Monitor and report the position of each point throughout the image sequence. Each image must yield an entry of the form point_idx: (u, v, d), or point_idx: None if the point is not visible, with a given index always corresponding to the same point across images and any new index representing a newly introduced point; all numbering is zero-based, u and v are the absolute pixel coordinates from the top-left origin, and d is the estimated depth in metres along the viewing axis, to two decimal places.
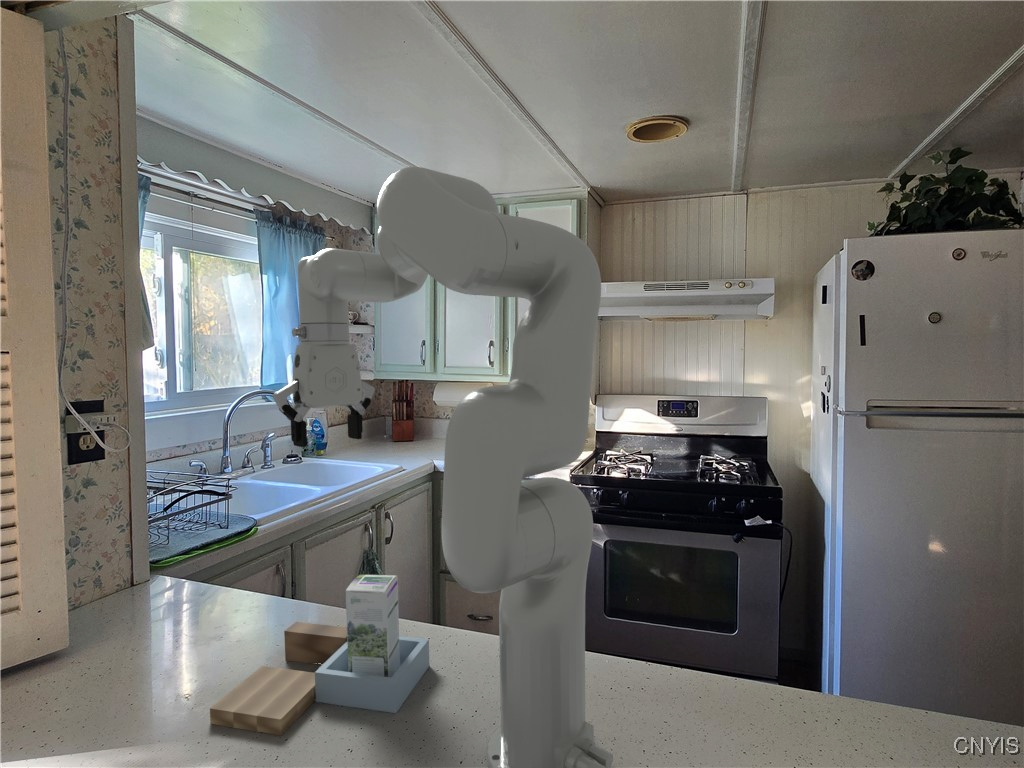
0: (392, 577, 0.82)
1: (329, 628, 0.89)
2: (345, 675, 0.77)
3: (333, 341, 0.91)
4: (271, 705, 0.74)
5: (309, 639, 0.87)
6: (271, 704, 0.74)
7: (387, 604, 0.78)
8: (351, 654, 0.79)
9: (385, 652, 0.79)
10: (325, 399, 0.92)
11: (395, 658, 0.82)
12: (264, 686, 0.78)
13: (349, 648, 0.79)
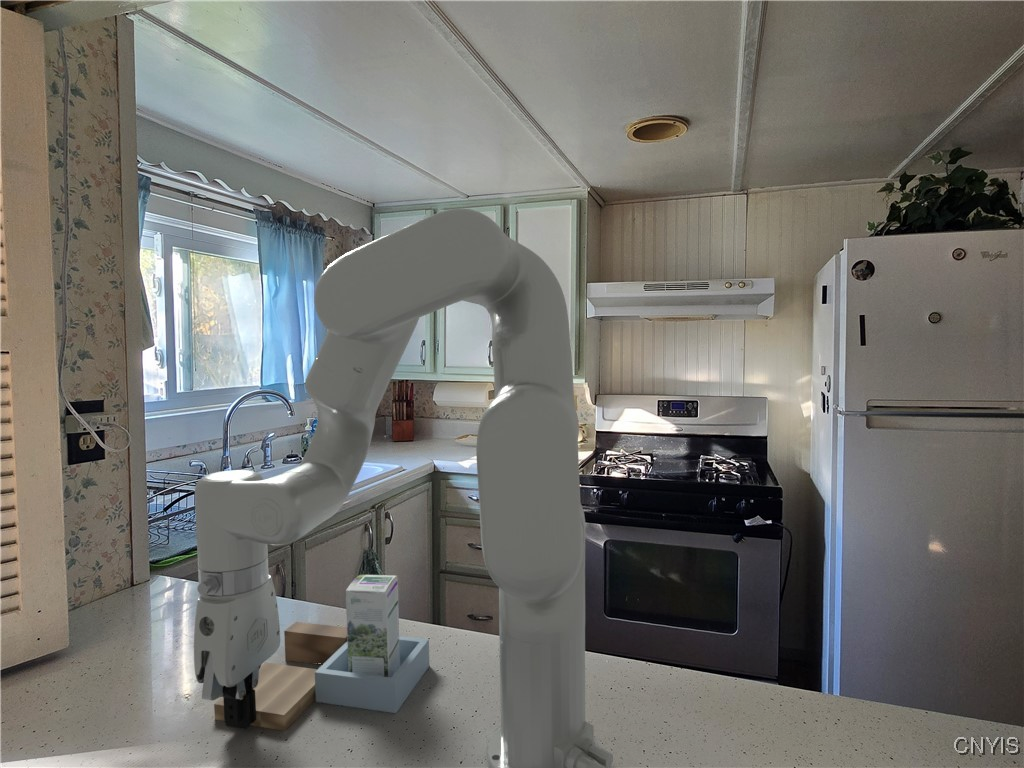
0: (392, 577, 0.82)
1: (329, 628, 0.89)
2: (345, 675, 0.77)
3: (258, 588, 0.69)
4: (275, 701, 0.75)
5: (309, 639, 0.87)
6: (275, 700, 0.75)
7: (387, 604, 0.78)
8: (351, 654, 0.79)
9: (385, 652, 0.79)
10: (248, 666, 0.69)
11: (395, 658, 0.82)
12: (267, 683, 0.79)
13: (349, 648, 0.79)
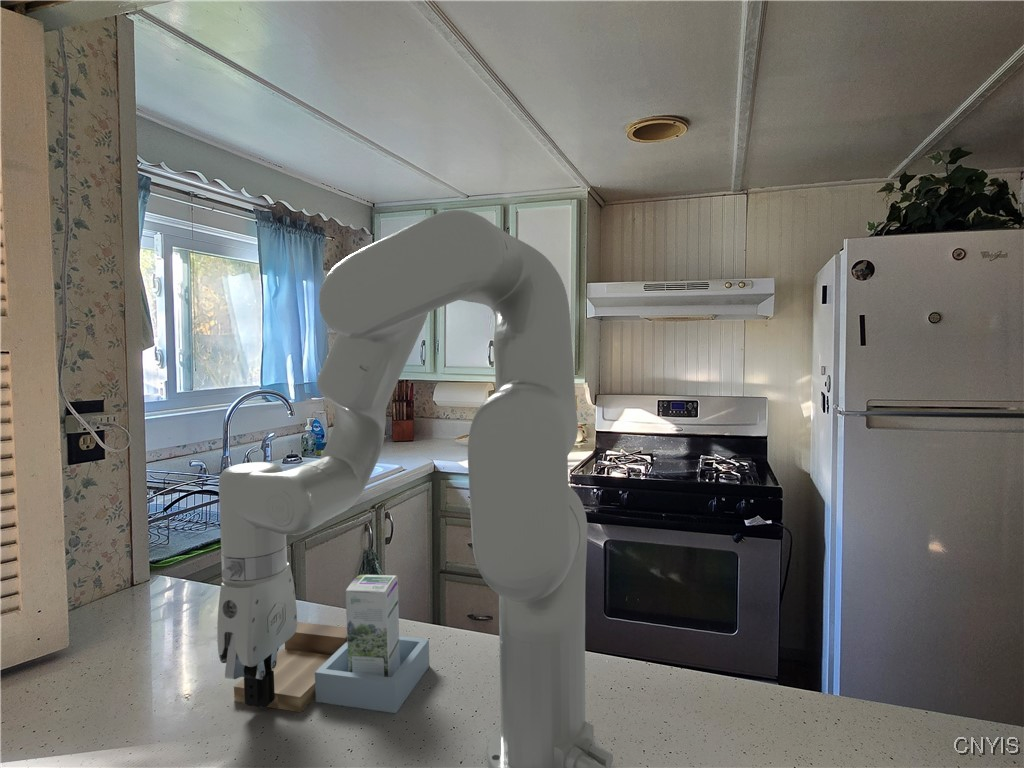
0: (392, 577, 0.82)
1: (329, 628, 0.89)
2: (345, 675, 0.77)
3: (277, 574, 0.73)
4: (291, 684, 0.78)
5: (309, 639, 0.87)
6: (291, 683, 0.79)
7: (387, 604, 0.78)
8: (351, 654, 0.79)
9: (385, 652, 0.79)
10: (267, 648, 0.72)
11: (395, 658, 0.82)
12: (284, 667, 0.82)
13: (349, 648, 0.79)
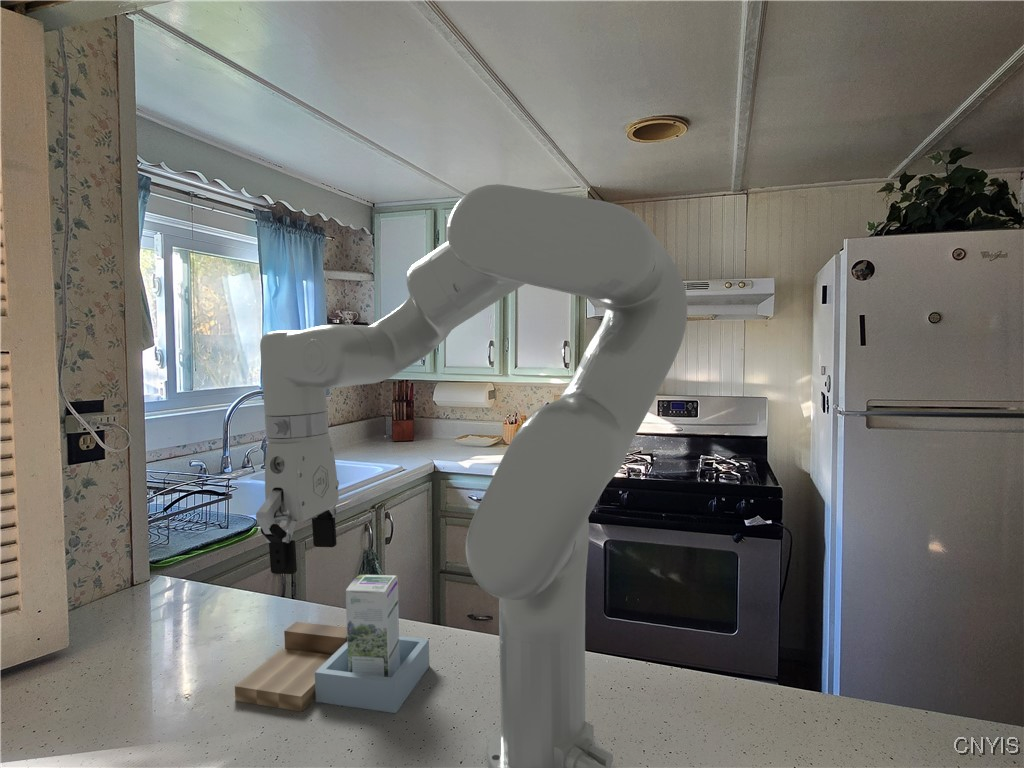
0: (392, 577, 0.82)
1: (329, 628, 0.89)
2: (345, 675, 0.77)
3: (321, 435, 0.74)
4: (292, 684, 0.78)
5: (309, 639, 0.87)
6: (292, 683, 0.79)
7: (387, 604, 0.78)
8: (351, 654, 0.79)
9: (385, 652, 0.79)
10: (314, 507, 0.74)
11: (395, 658, 0.82)
12: (284, 667, 0.83)
13: (349, 648, 0.79)
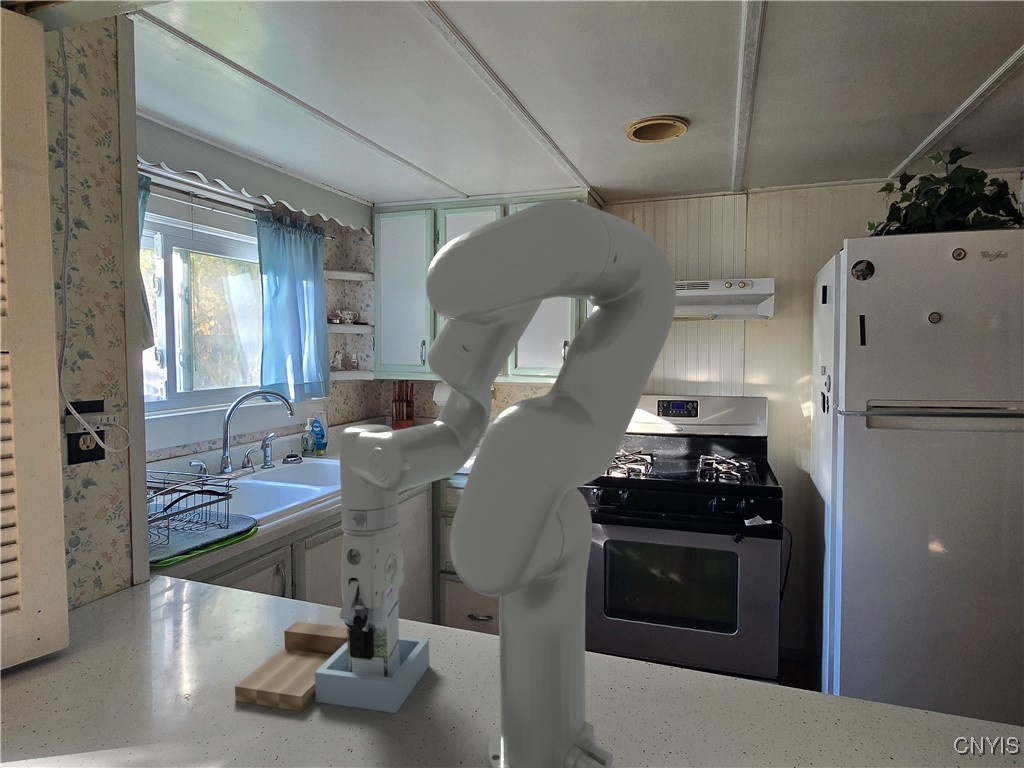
0: None
1: (329, 628, 0.89)
2: (345, 675, 0.77)
3: (393, 526, 0.79)
4: (292, 684, 0.78)
5: (309, 639, 0.87)
6: (292, 683, 0.79)
7: (387, 603, 0.78)
8: None
9: (385, 652, 0.79)
10: None
11: (395, 658, 0.82)
12: (284, 667, 0.83)
13: (349, 648, 0.79)
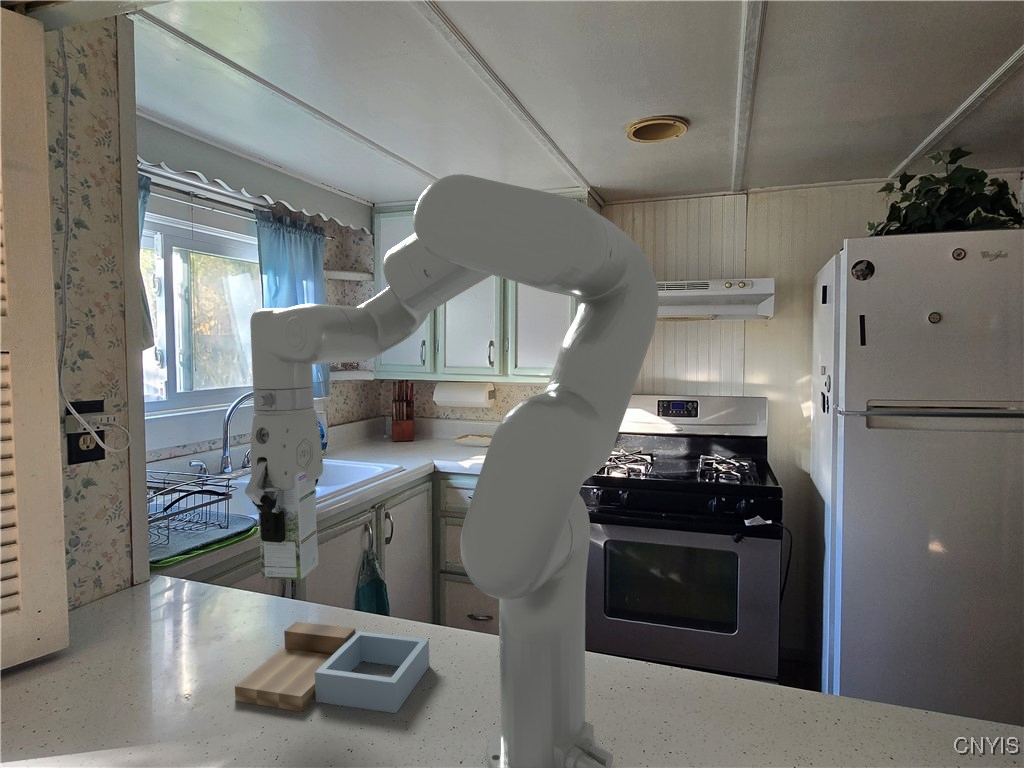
0: None
1: (329, 628, 0.89)
2: (345, 675, 0.77)
3: (306, 409, 0.78)
4: (292, 684, 0.78)
5: (309, 639, 0.87)
6: (292, 683, 0.79)
7: (298, 487, 0.77)
8: None
9: (296, 536, 0.77)
10: None
11: (310, 547, 0.81)
12: (284, 667, 0.83)
13: None
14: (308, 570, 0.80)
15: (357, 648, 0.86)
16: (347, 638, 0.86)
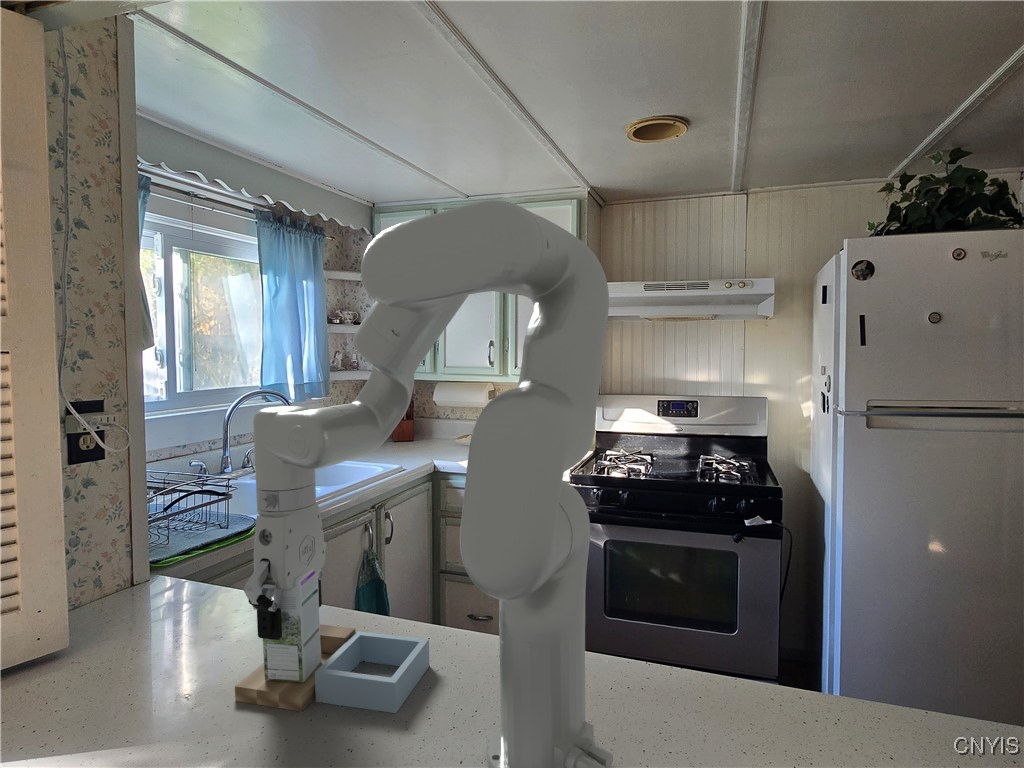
0: None
1: (329, 628, 0.89)
2: (345, 675, 0.77)
3: (308, 507, 0.79)
4: (292, 684, 0.78)
5: None
6: (292, 683, 0.79)
7: (301, 591, 0.78)
8: (266, 642, 0.79)
9: (299, 640, 0.78)
10: (299, 575, 0.78)
11: (313, 647, 0.81)
12: None
13: None
14: (311, 670, 0.81)
15: (357, 648, 0.86)
16: (347, 638, 0.86)
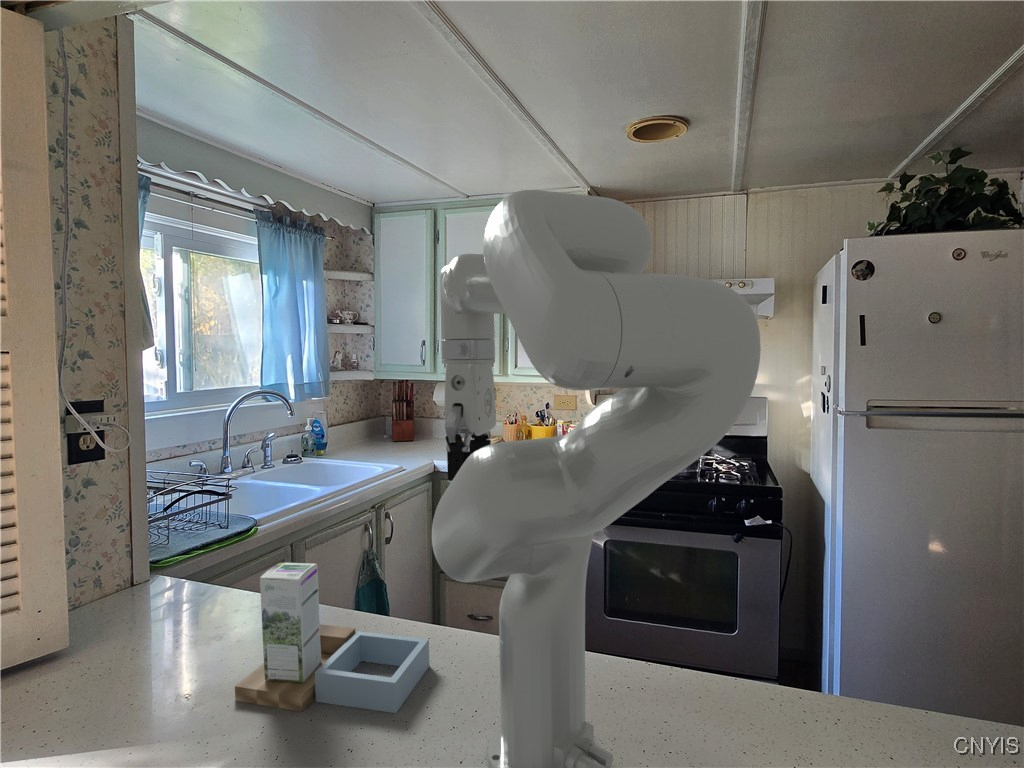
0: (311, 565, 0.82)
1: (329, 628, 0.89)
2: (345, 675, 0.77)
3: (492, 359, 0.82)
4: (292, 684, 0.78)
5: None
6: (292, 683, 0.79)
7: (301, 591, 0.78)
8: (266, 642, 0.79)
9: (299, 640, 0.78)
10: (485, 424, 0.81)
11: (313, 647, 0.81)
12: None
13: (264, 636, 0.79)
14: (311, 670, 0.81)
15: (357, 648, 0.86)
16: (347, 638, 0.86)
